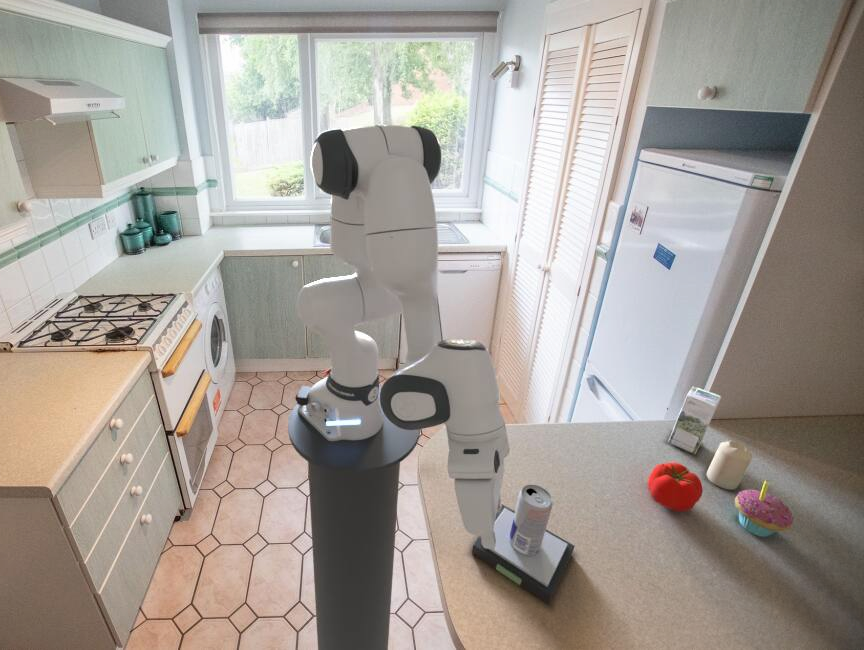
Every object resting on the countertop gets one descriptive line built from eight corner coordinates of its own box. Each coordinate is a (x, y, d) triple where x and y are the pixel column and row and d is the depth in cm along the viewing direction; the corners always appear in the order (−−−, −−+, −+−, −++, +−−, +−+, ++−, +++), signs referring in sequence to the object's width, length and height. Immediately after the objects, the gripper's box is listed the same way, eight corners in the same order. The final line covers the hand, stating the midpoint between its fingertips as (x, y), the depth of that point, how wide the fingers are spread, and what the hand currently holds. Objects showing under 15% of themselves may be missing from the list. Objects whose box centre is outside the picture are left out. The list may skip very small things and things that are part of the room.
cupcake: (742, 541, 86) (768, 495, 80) (718, 504, 93) (740, 460, 88) (793, 548, 84) (823, 503, 79) (765, 511, 92) (790, 467, 86)
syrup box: (701, 443, 109) (722, 394, 103) (694, 456, 105) (716, 406, 99) (673, 432, 113) (693, 384, 106) (666, 443, 109) (686, 394, 103)
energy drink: (525, 526, 85) (537, 479, 80) (546, 550, 80) (560, 502, 75) (502, 536, 83) (513, 488, 78) (523, 561, 79) (535, 513, 73)
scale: (470, 555, 83) (472, 544, 82) (499, 512, 91) (502, 501, 90) (547, 606, 75) (551, 595, 73) (571, 554, 83) (575, 543, 82)
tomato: (664, 478, 99) (675, 452, 96) (704, 510, 92) (717, 483, 88) (632, 489, 97) (642, 463, 93) (670, 523, 89) (682, 496, 86)
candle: (739, 493, 96) (757, 458, 91) (707, 483, 98) (724, 448, 94) (735, 476, 100) (752, 441, 95) (704, 467, 102) (720, 432, 98)
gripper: (468, 418, 80) (481, 492, 81) (444, 473, 62) (461, 568, 63) (505, 416, 78) (518, 493, 79) (491, 473, 59) (509, 572, 60)
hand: (493, 527), depth 70 cm, fingers open, 8 cm apart
